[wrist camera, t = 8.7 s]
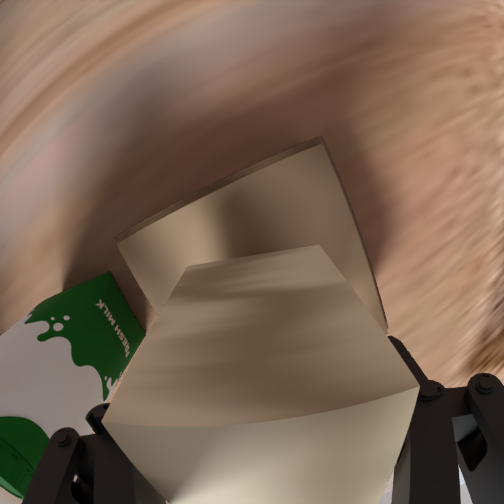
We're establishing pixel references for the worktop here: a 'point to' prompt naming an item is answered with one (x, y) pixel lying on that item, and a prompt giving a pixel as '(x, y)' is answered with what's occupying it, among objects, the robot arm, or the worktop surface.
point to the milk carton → (60, 371)
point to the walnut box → (255, 225)
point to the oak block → (265, 388)
